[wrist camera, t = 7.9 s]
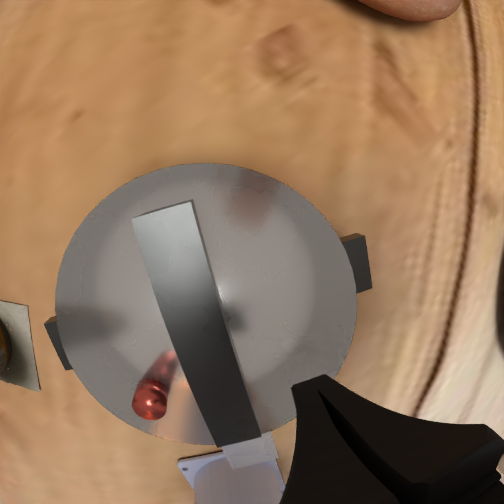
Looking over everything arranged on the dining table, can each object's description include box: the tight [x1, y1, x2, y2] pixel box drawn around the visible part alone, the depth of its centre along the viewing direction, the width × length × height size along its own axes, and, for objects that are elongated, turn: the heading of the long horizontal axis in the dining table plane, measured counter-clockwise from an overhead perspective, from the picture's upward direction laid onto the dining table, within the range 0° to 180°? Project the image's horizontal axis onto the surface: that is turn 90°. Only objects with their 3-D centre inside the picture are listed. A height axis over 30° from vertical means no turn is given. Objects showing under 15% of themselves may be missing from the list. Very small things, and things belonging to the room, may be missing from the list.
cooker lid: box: [55, 163, 357, 470], centre depth 13 cm, size 16×14×4 cm
